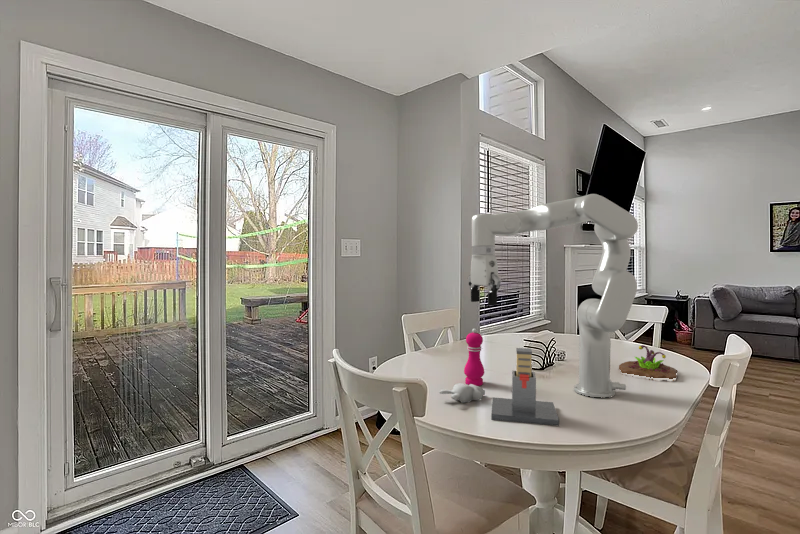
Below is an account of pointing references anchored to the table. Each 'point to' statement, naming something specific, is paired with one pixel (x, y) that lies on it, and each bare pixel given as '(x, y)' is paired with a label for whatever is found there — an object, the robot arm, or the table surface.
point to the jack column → (524, 361)
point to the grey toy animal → (465, 392)
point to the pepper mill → (474, 359)
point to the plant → (648, 366)
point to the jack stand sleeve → (524, 404)
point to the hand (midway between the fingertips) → (483, 303)
